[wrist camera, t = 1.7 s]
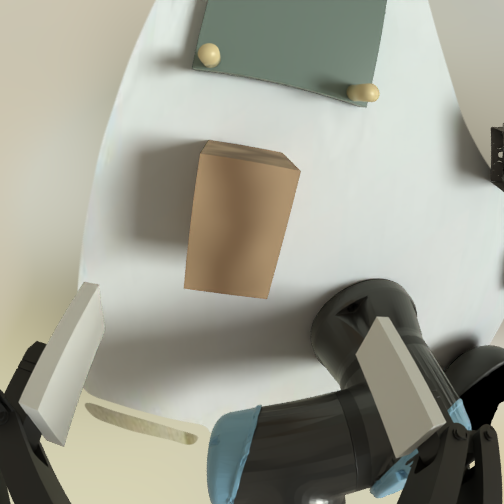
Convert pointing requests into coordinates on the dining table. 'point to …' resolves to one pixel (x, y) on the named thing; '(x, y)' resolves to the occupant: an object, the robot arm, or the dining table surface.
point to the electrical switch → (499, 139)
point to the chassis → (296, 44)
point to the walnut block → (238, 219)
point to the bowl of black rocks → (479, 382)
